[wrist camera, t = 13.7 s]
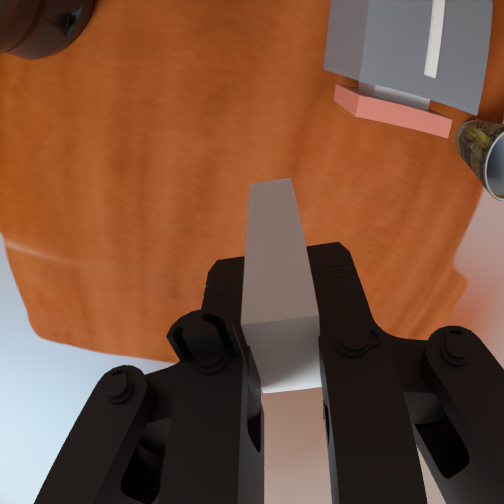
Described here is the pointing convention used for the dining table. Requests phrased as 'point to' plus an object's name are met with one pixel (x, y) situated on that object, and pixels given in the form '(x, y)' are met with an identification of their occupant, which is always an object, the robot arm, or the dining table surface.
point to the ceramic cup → (484, 153)
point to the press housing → (413, 46)
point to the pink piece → (392, 108)
